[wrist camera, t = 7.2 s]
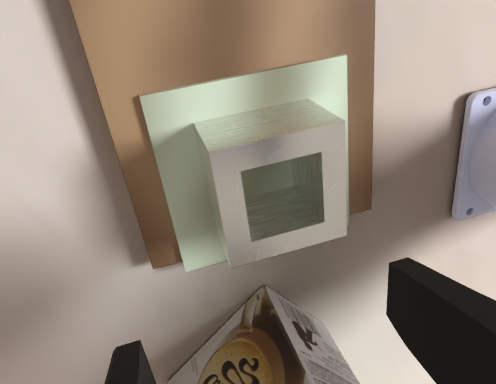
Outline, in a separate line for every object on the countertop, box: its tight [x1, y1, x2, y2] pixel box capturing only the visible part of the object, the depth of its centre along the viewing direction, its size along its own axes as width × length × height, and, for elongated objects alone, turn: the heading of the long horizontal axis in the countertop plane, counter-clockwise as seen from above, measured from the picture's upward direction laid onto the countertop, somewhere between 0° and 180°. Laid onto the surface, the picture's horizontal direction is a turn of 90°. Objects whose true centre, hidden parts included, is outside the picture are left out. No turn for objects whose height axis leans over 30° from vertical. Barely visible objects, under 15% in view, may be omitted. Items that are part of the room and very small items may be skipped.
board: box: [69, 0, 375, 272], centre depth 15 cm, size 12×22×6 cm, turn 8°
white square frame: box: [193, 98, 347, 268], centre depth 17 cm, size 5×5×4 cm
